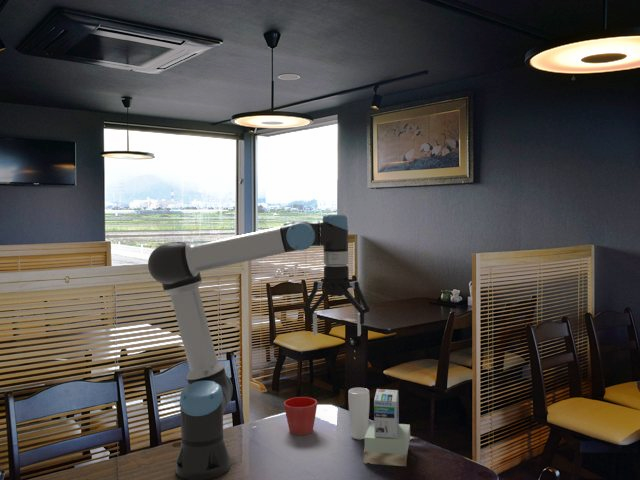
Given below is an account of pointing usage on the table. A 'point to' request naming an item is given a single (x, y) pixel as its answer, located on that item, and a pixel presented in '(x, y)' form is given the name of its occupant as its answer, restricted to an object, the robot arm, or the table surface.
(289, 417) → the flower pot
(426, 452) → the table surface
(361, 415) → the drinking glass
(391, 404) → the light bulb box
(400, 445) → the sage slab
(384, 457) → the birch slab
